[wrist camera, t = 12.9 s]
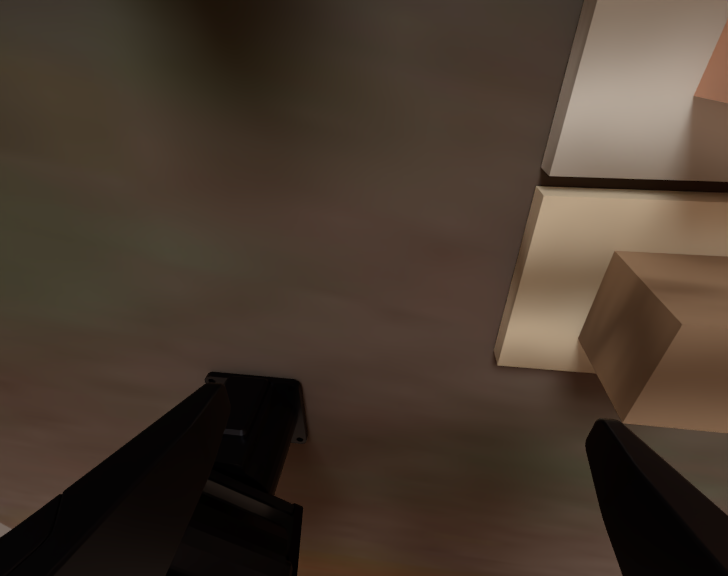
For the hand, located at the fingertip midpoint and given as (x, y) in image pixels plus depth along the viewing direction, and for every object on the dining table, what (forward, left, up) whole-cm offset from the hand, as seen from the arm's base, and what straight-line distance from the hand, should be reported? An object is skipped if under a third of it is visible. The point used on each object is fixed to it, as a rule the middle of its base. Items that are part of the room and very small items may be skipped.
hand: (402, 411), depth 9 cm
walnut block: (-3, -11, -9) cm, 15 cm away
